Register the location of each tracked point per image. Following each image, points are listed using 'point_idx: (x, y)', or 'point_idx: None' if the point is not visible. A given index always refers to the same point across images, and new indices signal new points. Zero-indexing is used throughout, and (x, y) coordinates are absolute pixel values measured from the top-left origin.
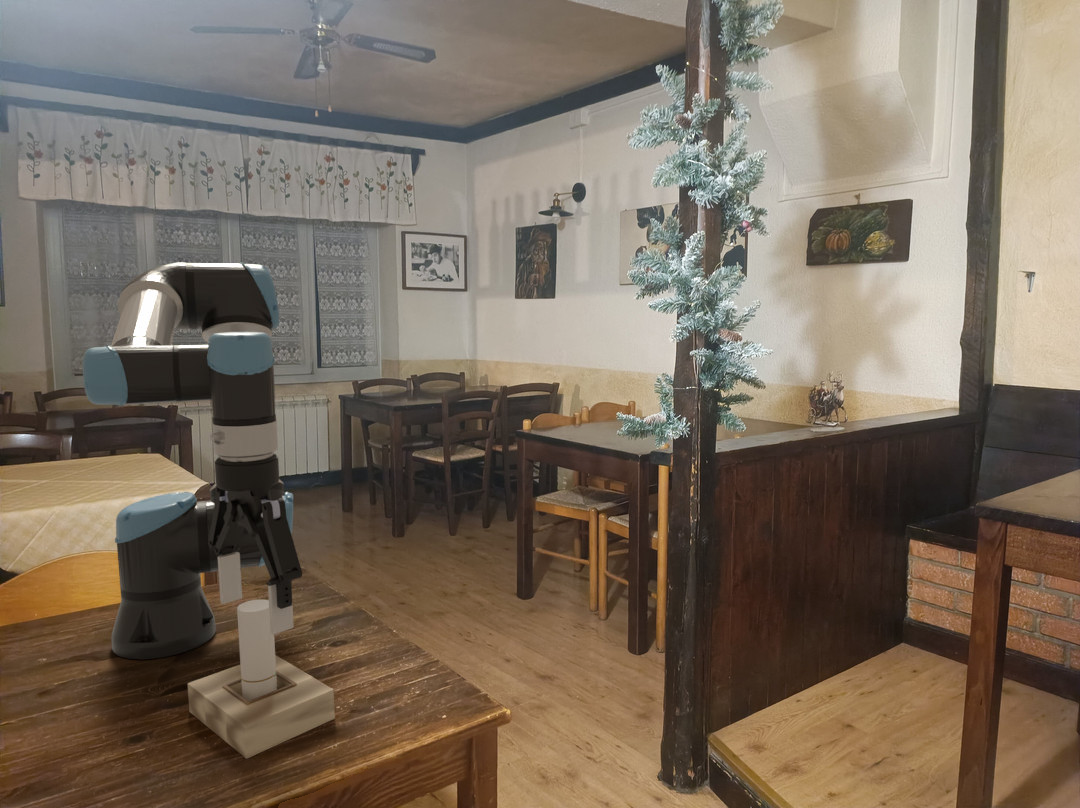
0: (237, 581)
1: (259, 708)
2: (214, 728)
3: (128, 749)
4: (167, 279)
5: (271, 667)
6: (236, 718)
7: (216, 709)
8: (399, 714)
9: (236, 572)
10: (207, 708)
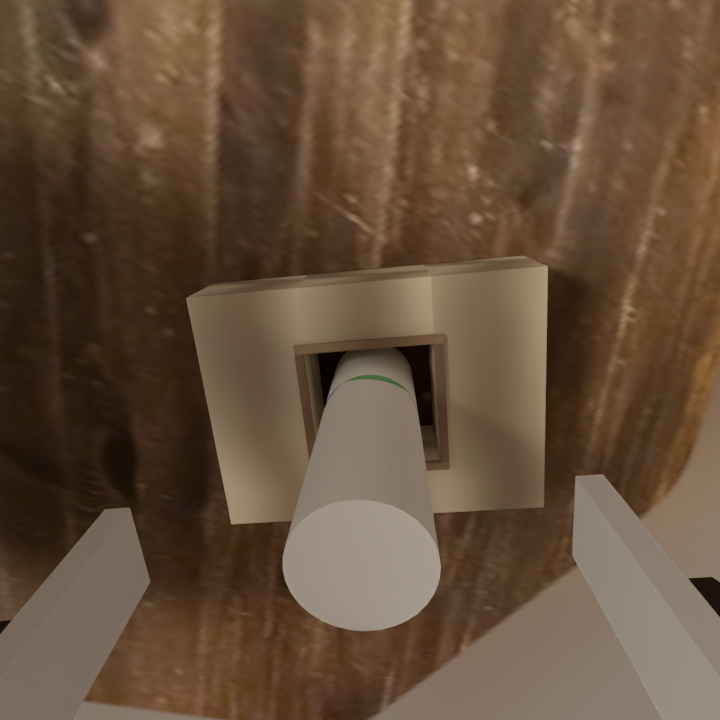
0: (88, 587)
1: (488, 452)
2: None
3: None
4: None
5: (415, 414)
6: (492, 506)
7: None
8: (644, 106)
9: (57, 631)
10: None
